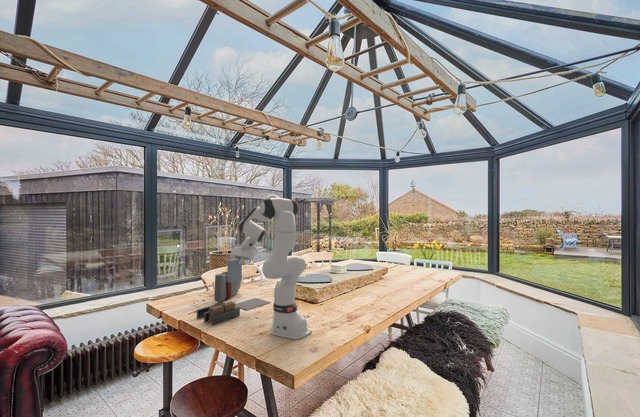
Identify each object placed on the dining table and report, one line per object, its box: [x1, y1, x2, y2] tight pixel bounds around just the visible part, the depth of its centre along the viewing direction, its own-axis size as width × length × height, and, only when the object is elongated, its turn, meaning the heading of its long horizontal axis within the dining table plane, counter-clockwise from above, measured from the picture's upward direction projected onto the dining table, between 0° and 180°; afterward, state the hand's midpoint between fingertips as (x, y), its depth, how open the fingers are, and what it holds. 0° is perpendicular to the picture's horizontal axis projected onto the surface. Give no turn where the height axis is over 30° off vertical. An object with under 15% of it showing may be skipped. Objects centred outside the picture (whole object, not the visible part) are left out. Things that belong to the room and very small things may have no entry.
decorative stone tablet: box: [213, 271, 242, 302], centre depth 214 cm, size 19×6×30 cm
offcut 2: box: [221, 301, 236, 312], centre depth 176 cm, size 4×7×8 cm, turn 142°
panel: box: [227, 258, 243, 283], centre depth 189 cm, size 4×8×14 cm, turn 143°
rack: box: [196, 301, 241, 326], centre depth 175 cm, size 17×18×5 cm
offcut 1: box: [208, 305, 224, 324], centre depth 170 cm, size 4×7×8 cm, turn 142°
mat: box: [235, 297, 272, 311], centre depth 200 cm, size 16×20×1 cm
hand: (235, 263), depth 190 cm, fingers closed on panel, 4 cm apart
